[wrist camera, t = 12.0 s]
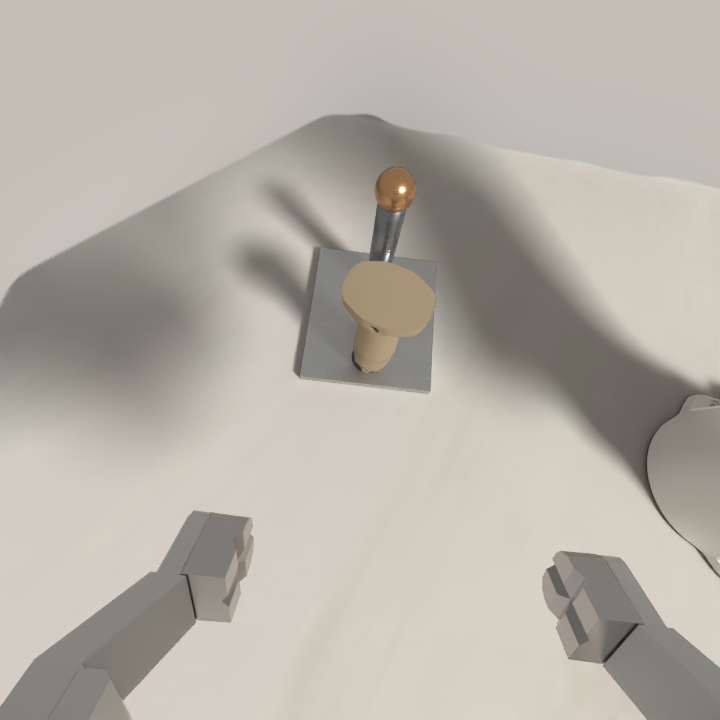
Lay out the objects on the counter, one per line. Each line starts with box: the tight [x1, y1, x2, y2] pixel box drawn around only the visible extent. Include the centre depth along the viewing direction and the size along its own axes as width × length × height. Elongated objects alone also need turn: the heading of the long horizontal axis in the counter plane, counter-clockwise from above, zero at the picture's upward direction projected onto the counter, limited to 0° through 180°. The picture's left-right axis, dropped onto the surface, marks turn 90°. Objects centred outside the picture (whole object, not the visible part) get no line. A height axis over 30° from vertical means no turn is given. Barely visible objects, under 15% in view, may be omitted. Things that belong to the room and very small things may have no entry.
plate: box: [300, 248, 436, 394], centre depth 41 cm, size 14×16×1 cm
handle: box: [342, 261, 435, 373], centre depth 31 cm, size 5×6×15 cm
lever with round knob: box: [369, 167, 416, 263], centre depth 34 cm, size 3×3×16 cm
